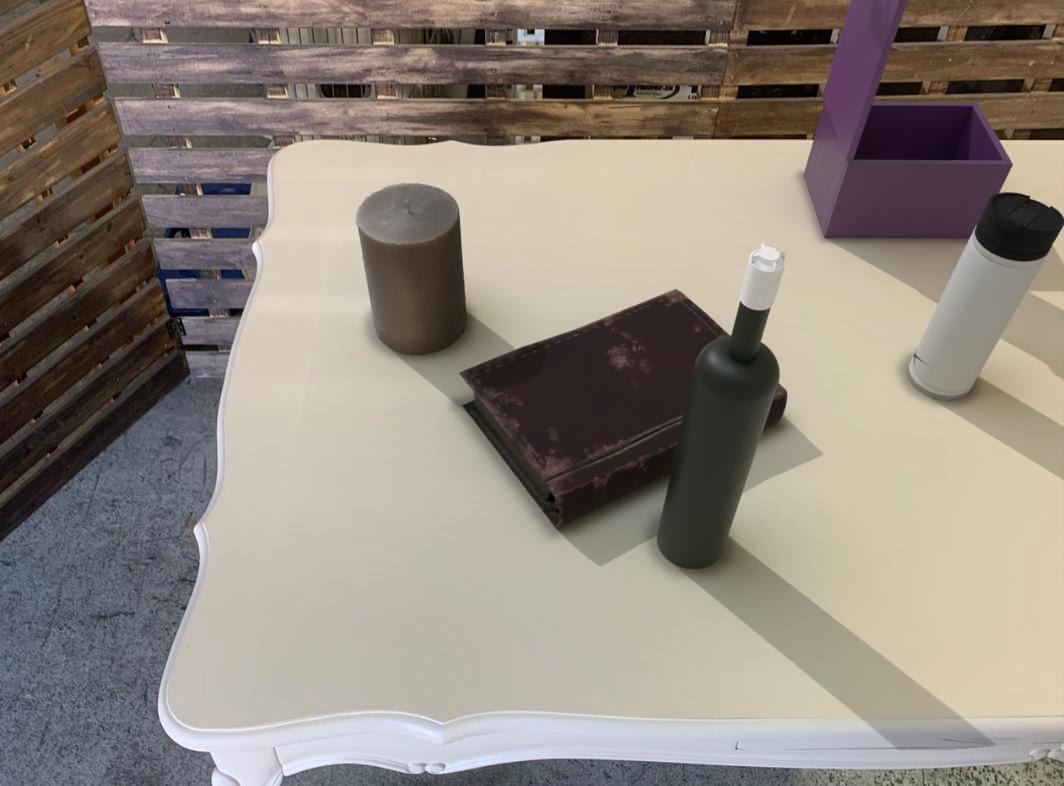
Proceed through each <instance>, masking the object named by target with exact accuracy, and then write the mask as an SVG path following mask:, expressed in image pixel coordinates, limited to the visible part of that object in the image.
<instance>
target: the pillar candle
mask: <svg viewBox="0 0 1064 786" xmlns="http://www.w3.org/2000/svg"><path fill="white" fill-rule="evenodd" d="M460 212H461V211H460V207H459V204H458V202H457V201H456V198H455V197H454V196H452V194H450V193H449V192H448V191H445V190H444V189H443V188H440V187H437V186H435V185H430V184H424V183H418V182H417V183H416V182H415V183H413V182H412V183H410V182H401V183H397V184H391V185H387V186H385V187H383V188H381V189H380V190H377V191H374V192H372V193H371V194H370V195H368V196H366V197H365V198H364V200H363V201H362V202H361V204H360V205H359V206H358V208H357V211H356V213H355V217H356V218H355V224H356V226H357V230H358V238H359V242H360V248H361V253H362V256H361V258H362V262H363V269H364V273H365V278H366V284H367V291H368V296H369V297H368V298H369V302H370V309H371V315H372V323H373V327H374V331H375V334H376V336H377V337H378V340H379V341H380V342H381V343H382V344H384V346H386V347H387V348H389V349H391V350H393V351H395V352H397V353H398V354H403V355H408V356H426V355H430V354H435V353H438V352H441V351H443V350H445V349H447V348H449V347H450V346H452V345H453V344H455V343H456V342H457V341H458V340H460V339H461V336H462V335H463V334H464V333H465V331H466V326H467V322H468V313H467V304H466V303H467V302H466V300H467V298H466V286H465V283H466V282H465V276H464V275H465V272H464V260H463V258H464V257H463V244H462V243H463V242H462V227H461V226H462V225H461V213H460Z"/></svg>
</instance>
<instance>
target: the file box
mask: <svg viewBox="0 0 1064 786" xmlns="http://www.w3.org/2000/svg"><path fill="white" fill-rule="evenodd" d="M982 109H983V108H982V107H981V106H980V104H979V102H977V101H975V102H974V101H972V102H971V101H968V102H967V101H873V103H872V106H871V109H870V112H869V115H868V118H867V121H866V124H865V127H864V130H863V132H862V135H861V138H860V141H859V144H858V147H857V150H856V153H855V156H854V159H846V157H845V155H844V152H843V150H842V147H841V144H840V142H839V139H838V137H837V134H836V131H835V129H834V126H833V124H832V121H831V118H830V116H829V113H828V111H827V108H826V105H825V103H824V102H823V105H822V109H821V112H820V115H819V119H818V123H817V126H816V130H815V134H814V137H813V140H812V144H811V148H810V150H809V154H808V157H807V161H806V163H805V164H806V165H805V168H804V172H803V179H804V182H805V185H806V188H807V191H808V194H809V197H810V201H811V203H812V206H813V209H814V212H815V215H816V216H815V217H816V219H817V221H818V224H819V228H820V231H821V234H822V236H823V239H864V240H865V239H867V240H868V239H869V240H870V239H872V240H873V239H874V240H875V239H878V240H879V239H880V240H881V239H882V240H883V239H884V240H885V239H886V240H887V239H891V240H893V239H894V240H896V239H898V240H900V239H901V240H902V239H903V240H904V239H905V240H912V239H913V240H969V239H970V237H971V235H972V233H973V231H974V229H975V226H976V225H977V224H978V222H979V220H980V218H981V216H982V214H983V211H984V209H985V207H986V205H987V203H988V201H989V199H990V198H991V197H992V196H993V195H995V194H998V193H1001V190H1002V189H1003V186H1004V184H1005V182H1006V181H1007V178H1008V177H1009V174H1010V172H1011V170H1012V168H1013V166H1014V164H1013V162H1012V160H1011V157H1010V156H1009V155H1008V152H1007V151H1006V150H1005V148H1004V146H1003V144H1002V142H1001V140H1000V139H999V137H998V135H997V134H996V131H995V130H994V128H993V127H992V125H991V123H990V121H989V120H988V118H987V116H986V114H985V113H984V111H983V110H982Z"/></svg>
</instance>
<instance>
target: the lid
mask: <svg viewBox="0 0 1064 786" xmlns="http://www.w3.org/2000/svg"><path fill="white" fill-rule="evenodd" d="M908 1H909V0H850V1H849V6H848V9H847V12H846V15H845V19H844V21H843V22H844V23H843V25H842V26H843V27H842V29H841V32H840V36H839V39H838V43H837V46H836V49H835V53H834V56H833V60H832V63H831V66H830V70H829V72H828V73H829V74H828V76H827V79H826V84H825V87H824V91H823V94H822V100H823V104H824V103H825V105H826V108H827V111H828V113H829V116H830V118H831V121H832V124H833V126H834V129H835V131H836V134H837V137H838V139H839V142H840V144H841V147H842V150H843V152H844V155H845V157H846V159H854V156H855V153H856V150H857V147H858V144H859V141H860V138H861V135H862V132H863V130H864V127H865V124H866V121H867V118H868V115H869V112H870V109H871V106H872V103H873V102H874V101H875V97H876V94H877V91H878V88H879V86H880V82H881V80H882V77H883V75H884V71H885V68H886V65H887V62H888V59H889V56H890V53H891V50H892V48H893V45H894V41H895V38H896V36H897V33H898V30H899V27H900V24H901V21H902V18H903V15H904V13H905V10H906V7H907V4H908Z"/></svg>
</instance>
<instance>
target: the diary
mask: <svg viewBox="0 0 1064 786" xmlns="http://www.w3.org/2000/svg"><path fill="white" fill-rule="evenodd" d="M729 335H730V334H729V333H728V332H727V331H726V330H725V329H724V328H723V327H722V326H721V325H720V324H719V323H717V322H716V320H714V319H713V318H712V317H711V316H710V315H709V314H708V313H707V312H705V311H704V310H703V309H702V307H700V306H699V305H697V304H696V303H695V302H694V301H693V300H692V299H690V298H689V297H688V296H687V295H686V294H684V293H683V292H682V291H681V290H679V289H677V288H675V289H672V290H670V291H667V292H665V293H662V294H659V295H656V296H654V297H652V298H650V299H647V300H645V301H642V302H640V303H636V304H635V305H632V306H629V307H627V308H625V309H622V310H620V311H617V312H614V313H613V314H610V315H608V316H605V317H602V318H600V319H597V320H594V321H593V322H590V323H588V324H585V325H583V326H580V327H577V328H575V329H572V330H569V331H566V332H562V333H560V334H556V335H554V336H551V337H548V338H545V339H541V340H539V341H535V342H533V343H529V344H527V345H523V346H521V347H519V348H516V349H514V350H511V351H509V352H506V353H504V354H501V355H499V356H497V357H494V358H491V359H489V360H486V361H484V362H482V363H478V364H477V365H474V366H472V367H469V368H466V369H464V370H462V371H460V372H459V373H458V374H459V376H461V378H462V379H463V380H464V382H465V383H466V384H467V385H468V387H469V388H470V389H471V390H472V392H473V397H474V398H473V399H474V400H471V401H469V402H466V403H463V404H462V405H461V406H462V408H463V409H464V410H465V412H466V413H467V414H468V416H469V417H470V418H471V419H472V421H473V422H474V423H475V425H476V426H477V427H478V429H479V430H480V431H481V432H482V434H483V435H484V436H485V438H486V439H487V440H488V442H489V443H490V444H491V446H492V447H493V448H494V450H495V451H496V452H497V453H498V455H499V456H500V457H501V459H502V460H503V461H504V463H505V464H506V465H507V467H508V468H509V469H510V470H511V472H512V473H513V475H514V476H515V477H516V478H517V480H518V481H519V482H520V484H521V485H522V486H523V488H524V489H525V490H526V492H527V493H528V494H529V495H530V497H531V498H532V500H533V501H534V502H535V503H536V504H537V506H538V507H539V508H540V510H541V511H542V513H543V514H544V516H546V518H547V519H548V520H549V522H550V523H551V524H552V525H553V527H554V528H555V529H559V528H561V527H563V526H565V525H567V524H569V523H572V522H573V521H575V520H577V519H579V518H581V517H583V516H585V515H587V514H589V513H591V512H593V511H595V510H597V509H599V508H601V507H603V506H605V505H607V504H608V503H611V502H613V501H614V500H616V499H618V498H619V499H620V498H621V497H623V496H625V495H627V494H629V493H632V492H634V491H637V490H638V489H641V488H644V487H646V486H648V485H649V484H652V483H654V482H656V481H658V480H661V479H664V478H665V477H667V476H669V475H670V474H671V470H672V465H673V461H674V456H675V452H676V447H677V443H678V438H679V434H680V429H681V424H682V420H683V415H684V411H685V406H686V402H687V397H688V393H689V388H690V384H691V379H692V375H693V370H694V365H695V362H696V359H697V357H698V355H699V354H700V352H701V351H702V350H703V348H704V347H705V346H706V345H708V344H709V343H710V342H712V341H714V340H716V339H718V338H721V337H724V336H729ZM788 395H789V394H788V391H787V389H786V388H785V387H783V385H782V384H781V383H780V382H779V383H778V386H777V389H776V392H775V395H774V398H773V401H772V404H771V407H770V410H769V414H768V417H767V420H766V423H765V426H764V429H763V431H764V430H766V429H769V428H771V427H773V426H775V425H777V424H779V422H780V421H781V419H782V417H783V416H784V414H785V410H786V407H787V402H788Z"/></svg>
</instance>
